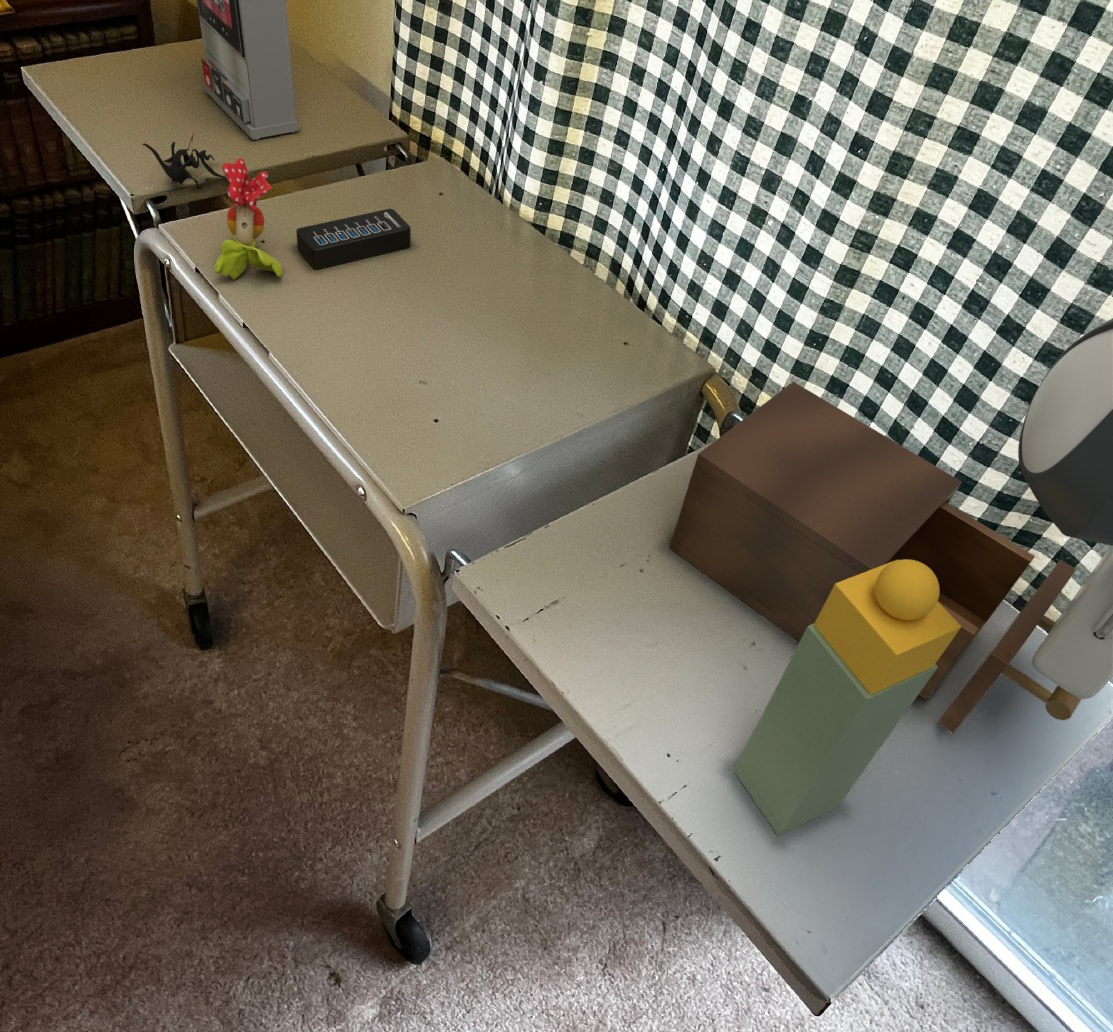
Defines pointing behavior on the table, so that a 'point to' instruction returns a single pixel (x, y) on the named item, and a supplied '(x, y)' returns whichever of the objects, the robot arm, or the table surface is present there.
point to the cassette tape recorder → (249, 63)
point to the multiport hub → (353, 238)
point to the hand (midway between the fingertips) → (1075, 642)
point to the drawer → (984, 606)
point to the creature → (178, 170)
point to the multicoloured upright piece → (244, 223)
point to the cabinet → (802, 505)
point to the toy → (887, 623)
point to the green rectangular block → (818, 734)
